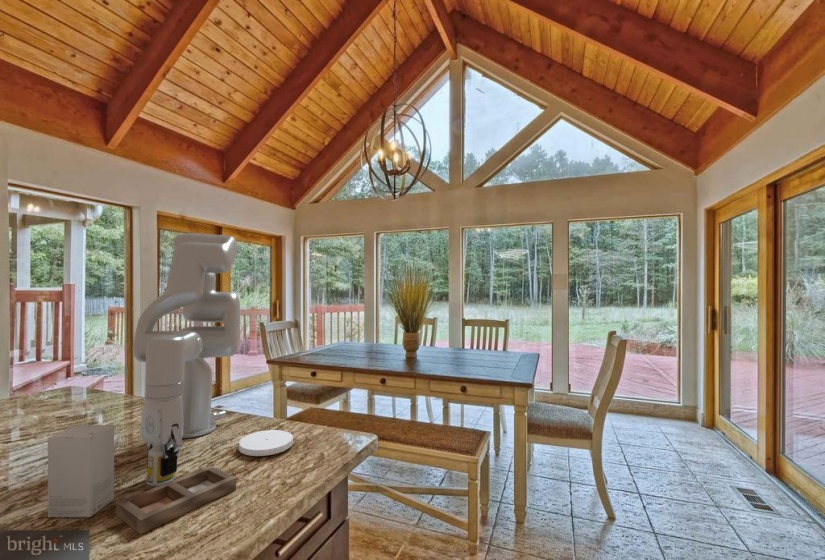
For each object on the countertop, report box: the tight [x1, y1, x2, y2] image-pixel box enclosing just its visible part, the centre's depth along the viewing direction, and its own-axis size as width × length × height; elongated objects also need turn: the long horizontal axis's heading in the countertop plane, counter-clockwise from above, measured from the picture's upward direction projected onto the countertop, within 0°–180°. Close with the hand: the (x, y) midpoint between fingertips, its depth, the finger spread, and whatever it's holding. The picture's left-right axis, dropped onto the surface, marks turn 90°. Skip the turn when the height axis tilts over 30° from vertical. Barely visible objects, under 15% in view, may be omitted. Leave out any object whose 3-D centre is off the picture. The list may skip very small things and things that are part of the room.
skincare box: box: [47, 424, 115, 518], centre depth 75 cm, size 8×7×16 cm
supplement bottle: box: [146, 439, 176, 487], centre depth 87 cm, size 5×5×10 cm
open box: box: [115, 465, 237, 535], centre depth 78 cm, size 18×10×2 cm, turn 148°
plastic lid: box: [238, 429, 294, 457], centre depth 106 cm, size 14×14×2 cm
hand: (161, 469), depth 86 cm, fingers closed on supplement bottle, 5 cm apart
